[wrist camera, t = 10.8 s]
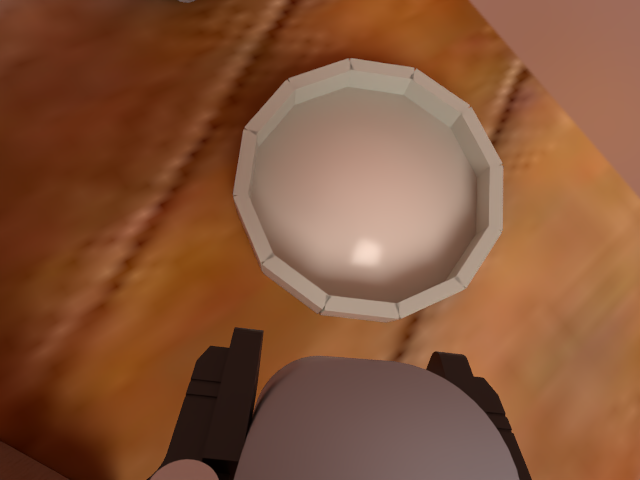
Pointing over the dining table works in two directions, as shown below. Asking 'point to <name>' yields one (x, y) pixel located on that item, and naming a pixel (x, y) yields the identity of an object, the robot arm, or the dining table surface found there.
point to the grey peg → (369, 426)
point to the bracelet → (186, 0)
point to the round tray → (368, 190)
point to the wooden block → (23, 466)
